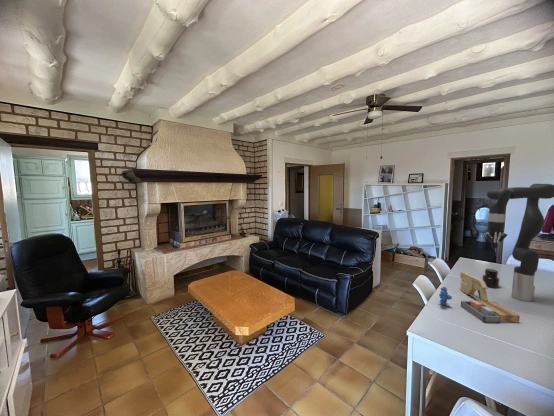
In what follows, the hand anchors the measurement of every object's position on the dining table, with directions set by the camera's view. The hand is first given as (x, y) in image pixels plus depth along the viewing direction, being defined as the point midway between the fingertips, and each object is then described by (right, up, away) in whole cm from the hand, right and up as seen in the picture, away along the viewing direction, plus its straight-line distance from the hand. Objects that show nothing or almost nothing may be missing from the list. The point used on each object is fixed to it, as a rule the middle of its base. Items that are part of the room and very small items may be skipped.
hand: (493, 248), depth 143 cm
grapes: (-31, -36, -1) cm, 47 cm away
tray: (-19, -36, -11) cm, 42 cm away
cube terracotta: (-16, -33, -8) cm, 37 cm away
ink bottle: (+23, -33, +27) cm, 48 cm away
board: (-9, -36, -11) cm, 39 cm away
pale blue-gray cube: (-16, -34, -14) cm, 40 cm away
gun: (-6, -35, +10) cm, 36 cm away
